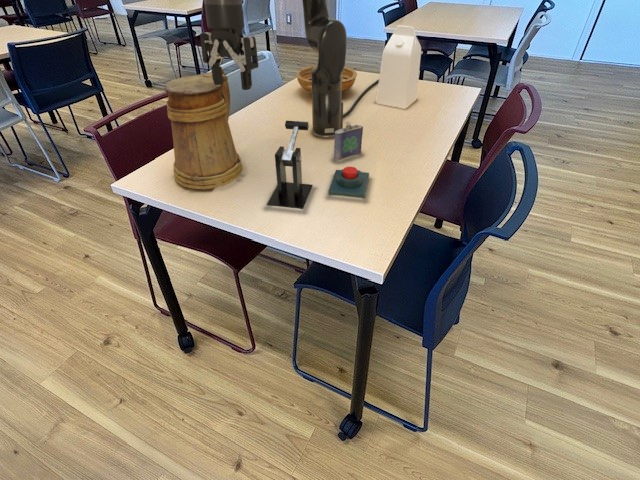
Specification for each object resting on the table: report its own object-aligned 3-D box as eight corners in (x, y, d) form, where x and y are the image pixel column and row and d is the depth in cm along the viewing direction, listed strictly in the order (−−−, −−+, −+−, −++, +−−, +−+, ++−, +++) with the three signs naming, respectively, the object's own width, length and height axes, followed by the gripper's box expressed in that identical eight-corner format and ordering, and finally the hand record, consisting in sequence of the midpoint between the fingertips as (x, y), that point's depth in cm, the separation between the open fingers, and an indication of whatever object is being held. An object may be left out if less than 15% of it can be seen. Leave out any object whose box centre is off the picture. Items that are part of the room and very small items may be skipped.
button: (344, 171, 98) (344, 165, 97) (357, 173, 97) (358, 167, 96) (341, 178, 95) (342, 172, 94) (356, 180, 95) (356, 174, 94)
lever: (287, 125, 94) (285, 118, 92) (309, 127, 93) (308, 120, 91) (276, 165, 89) (274, 158, 87) (299, 167, 88) (297, 160, 86)
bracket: (279, 185, 100) (275, 139, 92) (313, 188, 99) (312, 142, 90) (267, 208, 92) (261, 160, 84) (303, 212, 90) (301, 164, 82)
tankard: (161, 184, 100) (131, 88, 85) (210, 147, 118) (192, 61, 102) (220, 197, 96) (200, 97, 80) (262, 156, 113) (252, 67, 97)
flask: (336, 163, 109) (337, 127, 102) (331, 159, 111) (331, 124, 104) (362, 155, 113) (365, 120, 106) (357, 152, 114) (359, 117, 108)
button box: (335, 176, 103) (336, 162, 101) (368, 179, 102) (369, 165, 99) (328, 197, 95) (328, 183, 93) (364, 201, 94) (365, 187, 91)
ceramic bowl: (343, 109, 141) (344, 87, 136) (284, 102, 148) (283, 80, 143) (364, 85, 163) (365, 65, 158) (312, 80, 169) (311, 60, 164)
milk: (416, 99, 149) (427, 25, 132) (404, 109, 142) (415, 31, 125) (388, 94, 154) (395, 21, 138) (375, 103, 147) (382, 27, 130)
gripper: (262, 2, 76) (267, 88, 85) (212, 0, 82) (221, 80, 91) (236, 3, 70) (244, 94, 79) (184, 1, 77) (197, 85, 86)
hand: (232, 86), depth 85 cm, fingers open, 8 cm apart
